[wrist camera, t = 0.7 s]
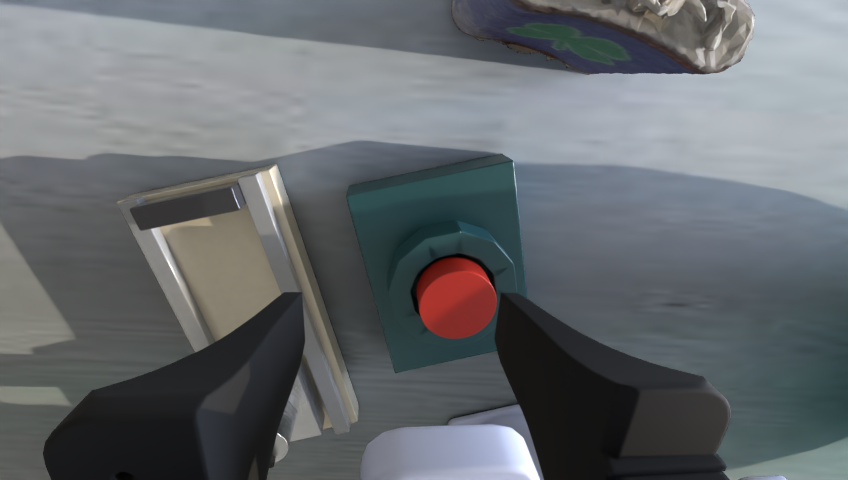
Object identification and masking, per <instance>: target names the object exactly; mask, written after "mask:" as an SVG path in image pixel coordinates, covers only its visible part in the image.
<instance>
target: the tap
mask: <svg viewBox="0 0 848 480" xmlns="http://www.w3.org/2000/svg"><path fill="white" fill-rule="evenodd" d="M324 419H325V414H324V411H323V409H322V406H321V403H320V401H319V398H318V396H317V393H316V391H315V388H314V386H313V383H312V380H311V378H310V375H309V373H308V370H307V368H306V365H305V363H304V360H303V358H302V360H301V364H300V368H299V371H298V374H297V376H296V379H295V382H294V385H293V388H292V391H291V394H290V396H289V399H288V402H287V405H286V408H285V410H284V413H283V416H282V419H281V422H280V425H279V429H278V432H277V436H276V440H275V444H274V448H273V453H272V457H271V461H270V466H269V468H271V467H274V463H276V462H278V461H280V460H281V459H283V458H284V457H285V455H286V454H287V452H288V449H289V445H290V442H292V441H297V440H301V439H306V438H310V437H315V436H319V435H322V431H323V425H324Z"/></svg>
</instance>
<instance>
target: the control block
mask: <svg viewBox="0 0 848 480" xmlns="http://www.w3.org/2000/svg"><path fill="white" fill-rule="evenodd" d="M346 199H347V202H348V206H349V210H350V213H351V217H352V220H353V224H354V227H355V231H356V235H357V238H358V242H359V245H360V249H361V252H362V256H363V260H364V263H365V267H366V270H367V274H368V278H369V281H370V285H371V288H372V292H373V295H374V299H375V303H376V306H377V310H378V313H379V317H380V320H381V324H382V328H383V331H384V335H385V338H386V342H387V346H388V349H389V353H390V356H391V360H392V363H393V367H394V371H395V373H398V372H403V371H407V370H412V369H416V368H421V367H425V366H430V365H434V364H439V363H444V362H448V361H453V360H457V359H462V358H466V357H471V356H475V355H480V354H484V353H489V352H493V351H497V348H496V344H495V340H494V336H495V330H496V323H497V316H498V309H499V302H500V296H501V293H518V294H520V295H522V296H524V297H525V298H527V290H526V280H525V270H524V260H523V250H522V240H521V230H520V220H519V210H518V200H517V190H516V180H515V170H514V161H513V160H511V159H510V158H508V157H507V156H505V155H503V154H497V155H492V156H488V157H483V158H478V159H474V160H469V161H464V162H459V163H455V164H450V165H445V166H440V167H436V168H431V169H426V170H422V171H417V172H412V173H407V174H403V175H398V176H393V177H388V178H384V179H379V180H374V181H369V182H365V183H360V184H355V185H351V186H349V189H348V192H347V195H346ZM448 257H463V258H467V259H470V260H472V261H474V262H476V263H477V264H478V265H479V266H481V267H482V269H483V270H484V271H485V273H486V275H487V277H488V279H489V281H490V282H491V284H492V286H493V288H494V290H495V293H496V297H497V305H496V310H495V313H494V315H493V317H492V319H491V321H490V322H489V323H488V324H487V325H486V326H485V327H484V328H483V329H482V330H481V331H479V332H477V333H476V334H474V335H471V336H469V337H465V338H460V339H449V338H444V337H441V336H438V335H436V334H434V333H433V332H431V331H430V330H429V329H428V328H427V327H426V326H425V325H424V323H423V321H422V319H421V317H420V313H419V306H418V300H417V284H418V281H419V279H420V277H421V275H422V273H423V272H424V271H425V270H426V269H427V268H428V267H429V266H430V265H431V264H433V263H435V262H436V261H438V260H441V259H444V258H448Z"/></svg>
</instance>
